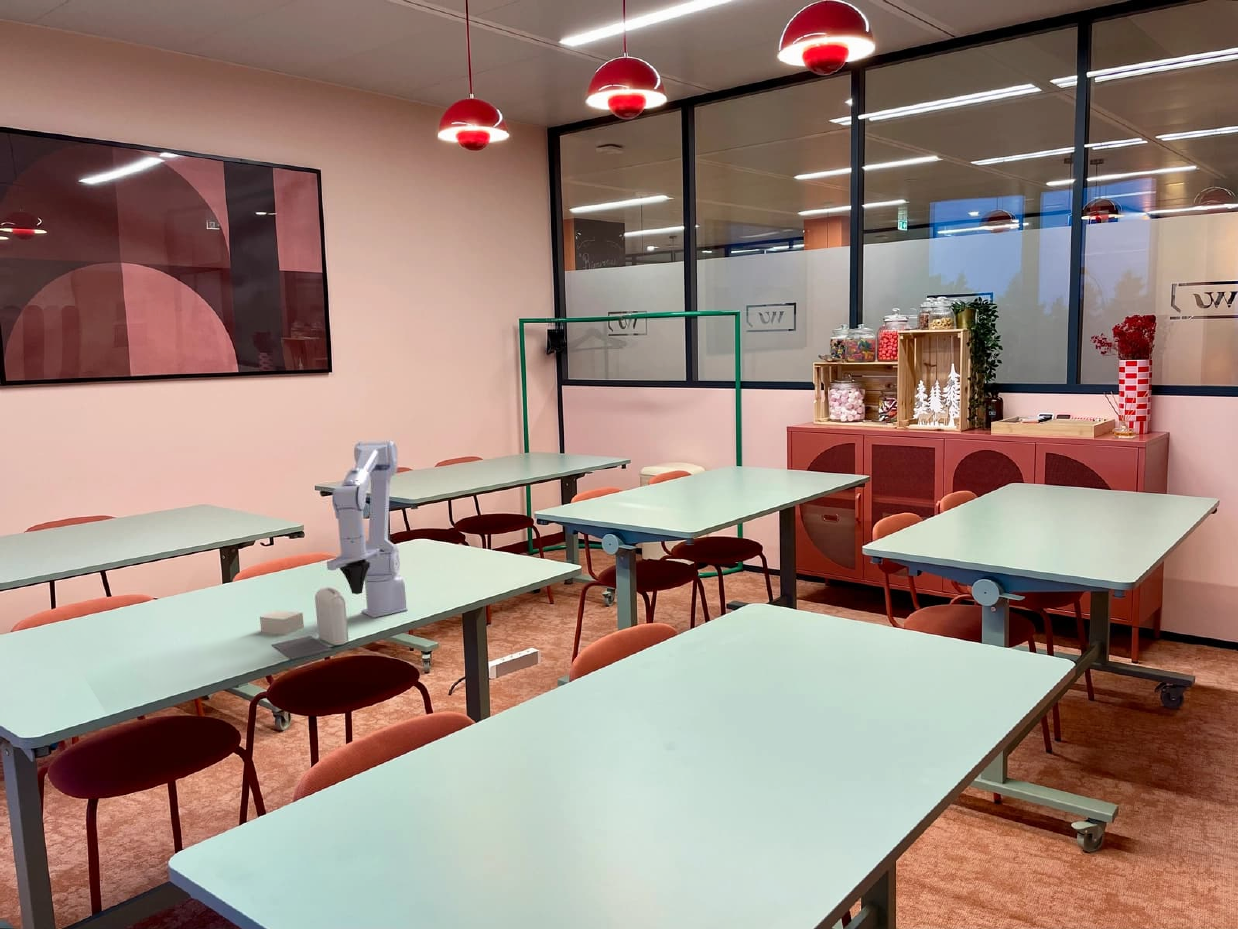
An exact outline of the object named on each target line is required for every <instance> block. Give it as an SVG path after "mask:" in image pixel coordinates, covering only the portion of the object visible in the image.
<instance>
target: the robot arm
mask: <svg viewBox="0 0 1238 929" xmlns="http://www.w3.org/2000/svg"><path fill="white" fill-rule="evenodd" d="M353 453H354V455H353V456H354V461H355V466H354V468H353V467H352V468H351V469H349V471H347V474H346V476H345V478H344V479H343V481H342V483H341V485H340V486H337V487H336V488H334V489H333V492H332V495H331V496H332V497H331V498H332V501H331V502H332V507H333V510H334V514H335V519H337V524H338V532H339V534H338V535H339V543H340V545H339V546H340V554H339V556H337V557H335V558H332V559H330V560H327V561H326V569H327V571H336V570H337V569H339V570H340V571H341V572H342V574H343V575H344V577H345V579H346V581H347V583H348V585H349V588H350V591H351V593H352V594H353V595H359V594H362V593H363V588H365V599H366V600H365V601H366V608H364V609H361V612H362V613H363V614H365V615H368V616H369V617H371V618H378V617H383V616H387V615H390V614H396V613H400V612H404V611H408V610H409V608H408V607H407V599H406V598H407V597H406V596H407V595H406V594H407V593H406V586H405V581H404V578H403V577H402V576H401V575H400V574H399V573H400V572H399V571H400V565H401V563H400V556H399V549H398V547H397V545H395V544H394V543H393V542H391V541H390V540H389V516H390V515H389V514H390V511H389V510H390V509H389V508H390V489H391V488H390V487H391V486H390V485H391V478H392V477H393V476H395V475H396V474H397V473H398V472H397V471H398V458H399V457H398V454H399V453H398V447H397V444H396V442H394V441H393V440H389V441H387V440H386V441H385V440H384V441H366V442H365V441H363V442H362V441H358V442H356V444H355V445H354V449H353ZM369 486H370V497H369V498H370V499H369V500H370V501H369V518H368V519H369V520H368V521H369V524H368V526H369V527H368V540H367V541H366V534H365V521H364V519H365V518H364V508H365V507H366V500H367V490H368V489H369ZM364 585H365V586H364Z"/></svg>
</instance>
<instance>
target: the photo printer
mask: <svg viewBox="0 0 1238 929" xmlns="http://www.w3.org/2000/svg"><path fill="white" fill-rule="evenodd" d="M315 593H316V594H315V595H314V596H315V597H314V601H315V602H314V604H315V611H316V612H315V613H316V624H317V632H318V633H317V634H318V637H319V639H321V640H322V641H325V643H326V642H327V643H328V644H331V645H335V646H340V645H345V644H347V643H348V642H349V629H348V628H349V627H348V619H347V618H348V617H347V609H346V608H347V606H346V600H345V598H344V596H343V595H342V594H341V592H339V591H338V590H336V589H335V588H332V587H325V588H320V589H319V590H317V591H316V592H315Z"/></svg>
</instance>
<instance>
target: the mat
mask: <svg viewBox="0 0 1238 929" xmlns="http://www.w3.org/2000/svg"><path fill="white" fill-rule="evenodd" d="M271 646H272V647H273V648H275V649H276V650H277V651H279V652H281V653H282V654H283V655H284V656H286V657H288V658H289V659H290V660H292V661H293V660H297V659H300V658H305V657H309V656H314V655H317V654H321V653H326V652H330V651H333V649H332V648H330V647H329V646H327V645H325V643H322V641H319V640H318V639H316V638H315V637H313V636H312V635H307V636H303V637H299V638H295V639H291V640H286V641H281V642H277V643H273V644H271Z"/></svg>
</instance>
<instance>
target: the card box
mask: <svg viewBox="0 0 1238 929" xmlns="http://www.w3.org/2000/svg"><path fill="white" fill-rule="evenodd" d="M259 620H260V621H259V622H260V623H259V624H260V632H261V633H268V634H275V635H283V636H285V635H288V634H289V635H290V634H291V633H293V632H294V633H295V632H296V631H298V630H301V629H304V628H305V624H304V615H303V612H301V611H300V612H299V611H290V610H282V609H278V610H276V611H273V612H270V613H266V614H264V615H260V616H259Z"/></svg>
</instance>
